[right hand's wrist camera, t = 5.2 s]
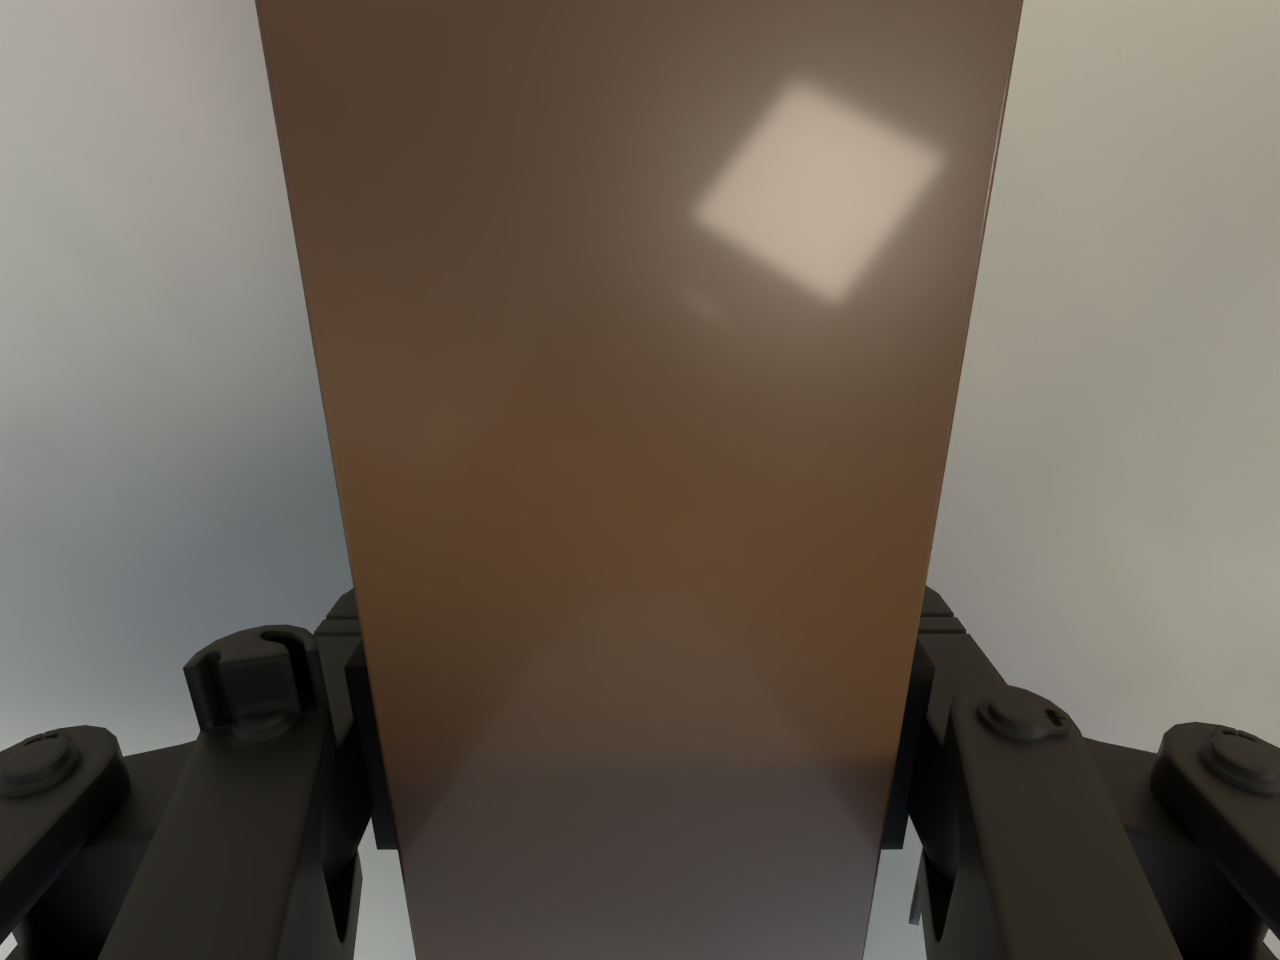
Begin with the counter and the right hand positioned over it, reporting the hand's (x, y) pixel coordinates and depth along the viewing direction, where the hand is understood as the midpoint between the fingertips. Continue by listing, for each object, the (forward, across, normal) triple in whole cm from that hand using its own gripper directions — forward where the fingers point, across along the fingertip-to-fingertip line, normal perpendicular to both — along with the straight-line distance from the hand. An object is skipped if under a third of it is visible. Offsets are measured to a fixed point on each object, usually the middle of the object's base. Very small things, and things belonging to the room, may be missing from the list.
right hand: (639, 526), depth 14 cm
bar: (+1, 0, -36) cm, 36 cm away
